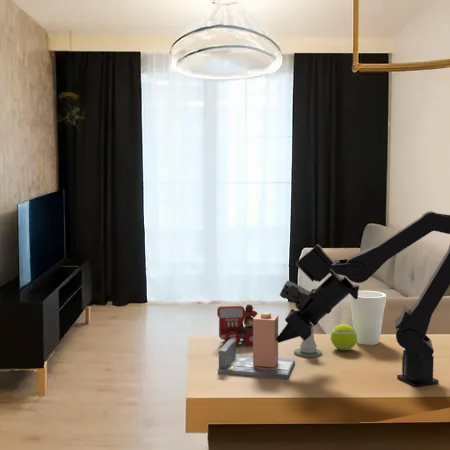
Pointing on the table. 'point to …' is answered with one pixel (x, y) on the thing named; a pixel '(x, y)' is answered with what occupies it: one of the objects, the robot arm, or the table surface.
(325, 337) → the table surface
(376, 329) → the foam cup
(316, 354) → the round pad
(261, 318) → the block
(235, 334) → the toy fire truck
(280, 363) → the rail
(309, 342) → the rook chess piece
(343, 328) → the tennis ball
